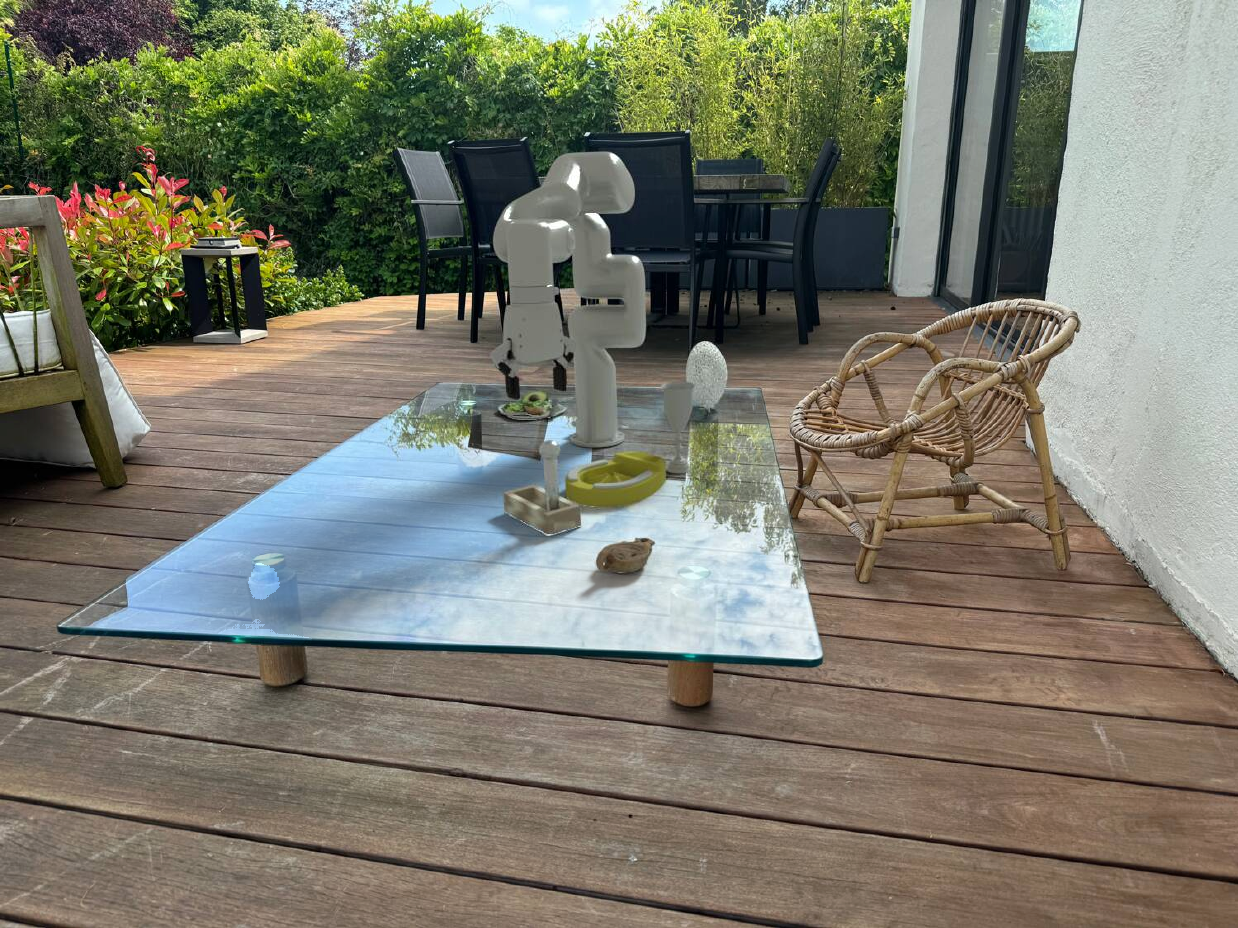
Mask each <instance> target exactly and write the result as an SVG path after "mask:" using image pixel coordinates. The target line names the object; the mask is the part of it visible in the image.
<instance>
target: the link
mask: <svg viewBox="0 0 1238 928" xmlns="http://www.w3.org/2000/svg"><path fill="white" fill-rule="evenodd" d="M502 493H503V494H502V495H503V508H504V509H503V510H504V512H505V511H506V512H507V513H508V514H510V515H512V516H514V517H516V518H517V519H519V520H522V521H523V522H525V523H526V524H528V525H531V526H533V527H534V528H536V529H538V530H541V531H543V532H544V533H546V534H555V533H558V532H561V531H563V530H568V529H572V528H575V527H578V526H581V527H582V517H581V515H582V514H581V505H580V504H577V503H574V502H572V501H570V500H569V499H568V498H565V497H563V496H561V495H559V500H560V509H557V510H553V511H550V512H549V511H547V510H546V496H545V488H544V487H541V486H539V485H537V484H532V485H531V484H530V485H527V486H525V487H524V486H523V487H521V488H520V487H519V488H516V489H511V490H508V491H504V492H502ZM517 519H516V520H517ZM526 524H525V525H526ZM528 525H527V526H528Z"/></svg>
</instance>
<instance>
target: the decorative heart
mask: <svg viewBox="0 0 1238 928" xmlns="http://www.w3.org/2000/svg"><path fill="white" fill-rule="evenodd" d="M685 367H686V368H685V380H686V381H685V382H690V383H693V384H694V385H695V386H694V388H693V391H692V401H693V402H695V403H696V404H697V405H698V406H699V407H700V408H702V407H707V408H706V410H707V409H708V413H709V412H710V413H711V408H712V407H714V406H715V405H716V404H717V403H719V401H720V400H721V398H722V397H723V395H724V393H725V390H726V387H727V384H728V383H727V382H728V368H727V362H726V359H725V357H724V355H722V353H721V351H720V350H719V348H718V347H717V346H716V345H715V344H713V343H712V342H710V341H705V340H704V341H701V342H698V343H697V344H695V346H693V348H692V349H691V350H690V353H689V355H688V358H687V361H686V366H685ZM705 404H706V406H705ZM708 407H709V408H708Z"/></svg>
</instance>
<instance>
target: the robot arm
mask: <svg viewBox="0 0 1238 928" xmlns="http://www.w3.org/2000/svg"><path fill="white" fill-rule="evenodd" d="M635 192H636V191H635V184H634V180H633V178H632V176H631V173H630V172H629V170H628V169H627V168H626V166H625V163H624V162H623V161H622V159H621V158H620V157H619V156H618V155H616V154H615V153H613V152H611V151H588V152H587V151H585V152H584V151H583V152H567V153H564V154H562V155H559V156H558V157H557V158H556V159H555V160H554V161H553V163H552V165H551V167H550V168H549V170H548V173H546V176H545V179H544V180H543V183H542V184H541V186H540V187H538V188H536V189H533V190H532V191H530V192H528V193H526V194H524V195H522V196H520V197H519V198H515V199H514V200H513V201H512V202H511V203H509V204H507V206H506V207H504V209H503V211H502V213H501V215H500V217H499V218H498V221H497V222H496V226H495V227H494V230H493V237H492V241H493V242H492V243H493V244H492V245H493V250H494V253H495V255H496V256H497V257H498V259H499V260H500V261H502V262H505V263H507V268H508V271H507V272H508V286H509V299H510V304H508V305H506V306H505V312H504V318H503V334H502V343H501V344H499V345H498V346H497V347H496V348H494V349H493V350H492V351H491V352H489V357H490V358H491V360H492V363H493V364H494V367H495V368H496V369H497V370H498V371H499V372H500V373H501V375H502V376H504V378H505V379H504V380H505V392H506V393H505V394H506V395H507V397H508V398H509V399H511V400H514V401H515V400H520V398H521V389H520V388H521V387H520V377H519V376H518V375H517V373H518V372H519V370H520V369H521V367H522V365H531V364H537V363H544V362H550V361H551V362H552V363H553V365H555V366H554V367H553V368H552V376H553V377H552V382H553V389H554V390H557V391H561V392H566V391H567V385H568V381H567V380H568V376H567V369H569V368H570V363H571V362H572V360H573V368H574V373H573V374H574V391H575V392H574V393H575V413H576V415H575V416H576V418H575V420H572V421H571V426H572V427H574V428H575V433H574V432H573V434H571V437H570V441H571V443H572V444H573V445H575V446H578V447H581V448H583V447H584V448H607V447H613V446H616V445H620V444H621V443H622V442H624V441H625V433H624V432H622V431H620V430H618V429H619V428H618V401H617V400H618V399H617V396H618V395H617V373H616V372H617V369H616V365H615V362H614V360H613V358H612V357H611V355H610V354H609V353H608V352H607V350H606V349H609V348H611V349H616V348H618V349H630V348H631V349H632V348H638V347H641V345H643V344H644V341H645V338H646V332H647V315H646V313H647V311H646V309H647V308H646V307H647V306H646V275H645V269H644V265H643V261H641V259H640V258H639V257H638V256H637V255H633V254H612V250H611V233H610V228H609V227H608V225H607V224H606V222H605V221H604V219H603V217H601V216H600V215H601V214H602V215H604V214H606V215H607V214H610V215H611V214H624V213H627V212H628V211H630V210H631V209H632V207H633V206H634V202H635V196H636V193H635ZM571 256H572V257H571ZM570 257H571V258H572V280H573V287H574V288H573V289H574V291H575V293H576V295H577V296H578V297H580V298H583V299H595V300H599V299H600V300H608V299H609V300H611V299H612V300H613V299H614V300H617V299H618V300H622V301H623V303H624V304H585V305H580V306H577V307H575V308H574V309H572V311H570V313H569V316H568V319H567V329H568V333H569V335H568V336H569V337H568V336H566V335H564V332H563V323H562V318H561V313H560V309H559V305H558V303H557V302H555V299H556V298H555V296H556V295H557V296H558V295H560V289H559V287H557V286H555V284H554V269H553V268H554V266H553V265H554V264H557V263H562V262H565V261H567V260H569V258H570ZM565 347H566V348H565ZM564 349H565V350H564ZM503 358H504V360H505V361H506V363H505V362H504V360H503Z"/></svg>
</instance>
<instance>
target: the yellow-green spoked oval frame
mask: <svg viewBox="0 0 1238 928" xmlns="http://www.w3.org/2000/svg"><path fill="white" fill-rule="evenodd" d="M666 462H667V461H666V459H665V458H663V457H661V456H657V455H653V454H650V453H649V454H648V453H646V452H641V451H634V450H631V451H625V452H616V453H614V459H610V460H608V459H600V460H596V461H595V460H594V461H592V462H587V463H584V464H581V465H577V466H575V467H573V468H572V469H571V470H569V471H568V473H567V474H566V476H565V477H564V479H565V481H564V482H565V483H564V484H565V496H566V499H567V500H569V501H571V502H572V501H574V502H576V503H575V504H577V503H578V505H580V504H581V505H580V506H584V505H585V507H590V506H594V507H593V508H617V507H626V506H629V505H634V504H635V503H639V502H641V501H644V500H646V499H647V498H649V497H651V496H653V494H655V493H657V491H659V490H660V489H661V488H662V487H663V486H664V484H665V483H666V482H667V479H666V478H667V474H666V472H667V464H666ZM574 502H573V503H574Z"/></svg>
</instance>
